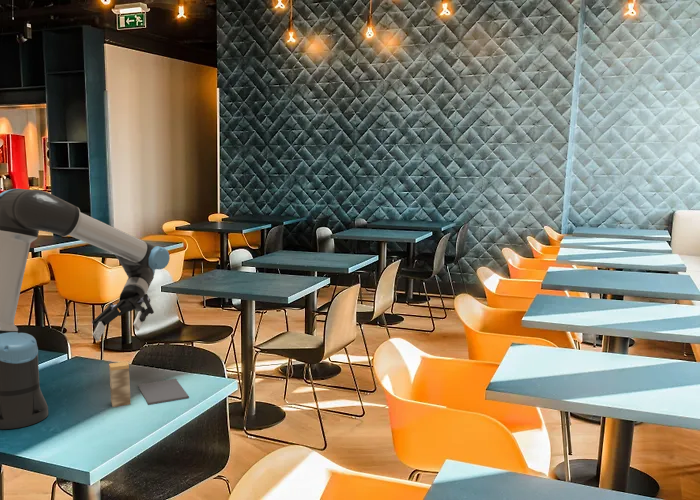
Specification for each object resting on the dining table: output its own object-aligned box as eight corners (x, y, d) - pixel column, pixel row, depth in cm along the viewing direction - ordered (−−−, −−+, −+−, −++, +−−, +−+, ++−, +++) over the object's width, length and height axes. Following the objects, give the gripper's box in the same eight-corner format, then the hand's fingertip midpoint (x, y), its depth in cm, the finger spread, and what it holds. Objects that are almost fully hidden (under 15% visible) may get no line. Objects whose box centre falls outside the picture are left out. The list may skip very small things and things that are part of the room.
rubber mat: (148, 404, 188) (148, 402, 188) (137, 386, 203) (137, 384, 203) (188, 398, 193) (188, 396, 193) (175, 380, 209) (175, 378, 209)
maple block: (112, 407, 186) (110, 367, 184) (111, 402, 189) (109, 363, 188) (130, 404, 188) (128, 365, 187) (128, 399, 192) (126, 361, 190)
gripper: (172, 292, 214) (158, 331, 196) (105, 310, 217) (84, 351, 199) (163, 275, 211) (147, 313, 192) (94, 293, 214) (73, 332, 195)
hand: (115, 332), depth 196 cm, fingers open, 13 cm apart
